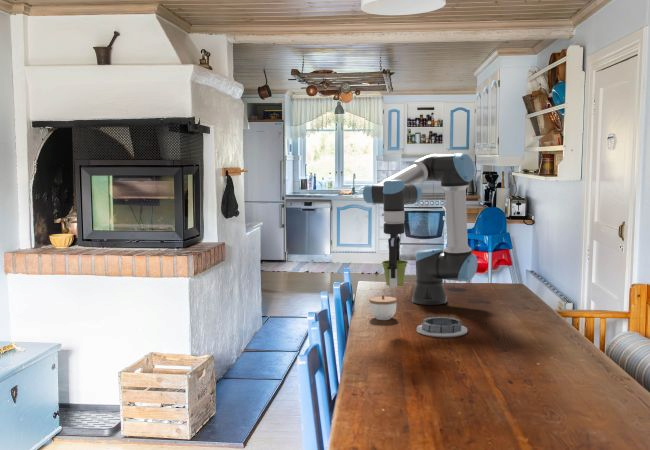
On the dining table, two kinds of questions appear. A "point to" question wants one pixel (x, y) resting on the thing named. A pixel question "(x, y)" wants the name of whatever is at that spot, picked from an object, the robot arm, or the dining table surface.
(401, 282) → the plant pot
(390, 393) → the dining table surface
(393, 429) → the dining table surface
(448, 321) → the hub
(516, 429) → the dining table surface
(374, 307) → the lidded jar
